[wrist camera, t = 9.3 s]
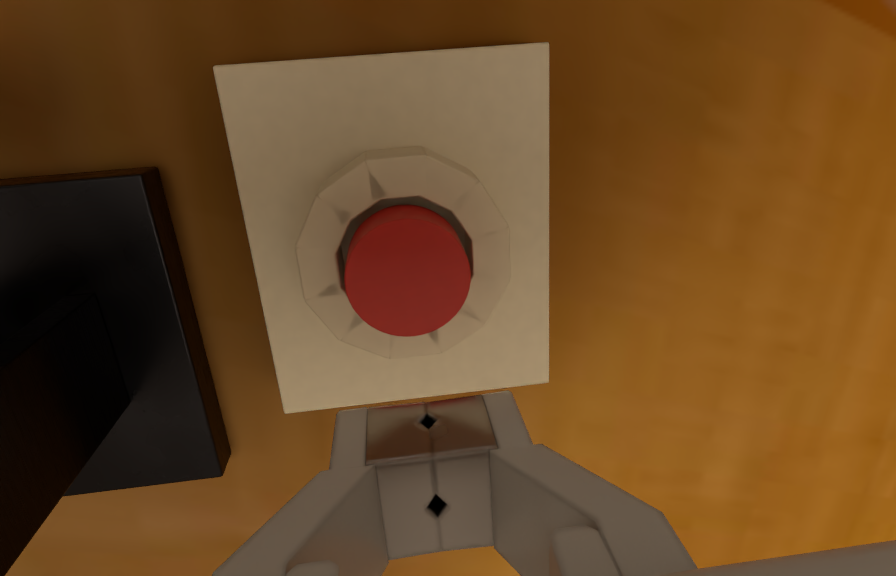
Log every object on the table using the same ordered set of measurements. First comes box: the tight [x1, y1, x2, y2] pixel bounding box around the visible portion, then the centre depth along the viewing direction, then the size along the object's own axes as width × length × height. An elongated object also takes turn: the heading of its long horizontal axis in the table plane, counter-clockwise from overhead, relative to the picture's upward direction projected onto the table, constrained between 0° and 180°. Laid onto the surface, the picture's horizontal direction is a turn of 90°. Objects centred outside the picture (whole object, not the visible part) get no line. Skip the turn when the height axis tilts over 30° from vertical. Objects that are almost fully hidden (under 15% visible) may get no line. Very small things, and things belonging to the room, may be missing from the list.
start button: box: [344, 204, 471, 337], centre depth 17 cm, size 4×4×2 cm
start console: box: [213, 42, 549, 414], centre depth 19 cm, size 12×10×4 cm
